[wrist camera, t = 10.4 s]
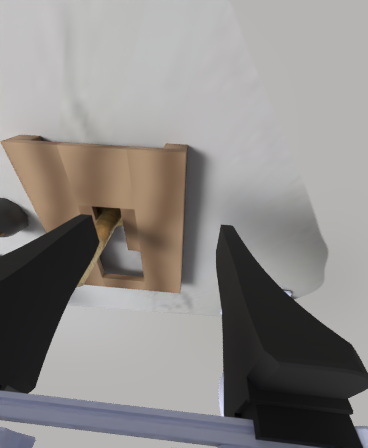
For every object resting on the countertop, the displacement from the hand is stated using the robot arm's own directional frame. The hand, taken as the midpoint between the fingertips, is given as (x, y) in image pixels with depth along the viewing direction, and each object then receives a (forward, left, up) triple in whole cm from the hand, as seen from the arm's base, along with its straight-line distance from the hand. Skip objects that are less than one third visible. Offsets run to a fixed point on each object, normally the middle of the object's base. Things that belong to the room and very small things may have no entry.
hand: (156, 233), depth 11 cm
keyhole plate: (+7, +8, -10) cm, 15 cm away
